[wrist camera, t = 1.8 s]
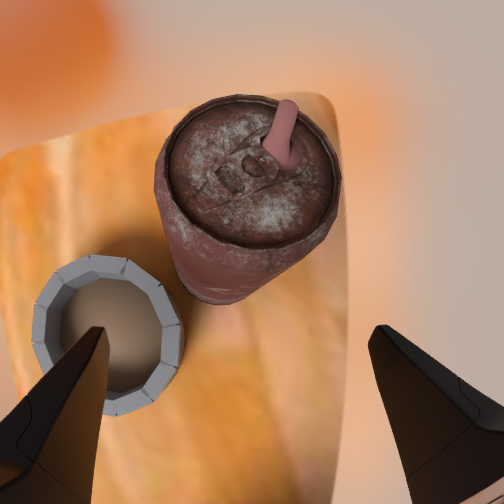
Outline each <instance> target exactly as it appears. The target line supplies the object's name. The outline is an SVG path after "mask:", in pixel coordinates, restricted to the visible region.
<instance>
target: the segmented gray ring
mask: <svg viewBox="0 0 504 504" xmlns="http://www.w3.org/2000/svg"><path fill="white" fill-rule="evenodd" d="M35 302H36V303H37V304H38V305H36V304H34V313H33V325H32V340H31V342H34V344H32V346H33V349H34V352H35V354H36V357H37V359H38V362H39V364H40V367H41V369H42V372H43V374H44V375H45V374H46V373H47V372H48V371H49V370H50V369H51V368H52V367H53V365H54V364H55V363H56V362H57V361H58V360H59V359H60V358H61V357H62V356H63V355H64V354H65V353H66V352H67V351H68V350H69V349H70V348H71V347H72V346H73V345H74V344H75V343H76V342H77V341H78V340H79V338H80V337H81V336H82V335H83V334H84V333H85V332H86V331H87V330H88V329H89V328H90V327H92V326H103V327H105V329H106V332H107V336H108V340H109V344H110V357H109V366H108V378H107V389H106V397H105V402H104V408H103V413H102V414H104V415H109V416H115V417H116V416H117V415H118V416H121V415H124V414H126V413H129V412H131V411H134V410H136V409H139V408H141V407H144V406H146V405H149V404H151V403H153V402H154V401H155V400H156V399H157V397H158V396H159V394H160V393H161V392H162V391H163V390H164V389H165V388H166V387H167V386H168V385H169V384H170V382H171V381H172V379H173V378H174V376H175V374H176V373H177V370H178V368H179V365H180V363H181V360H182V356H183V351H184V327H183V322H182V318H181V315H180V312H179V310H178V307H177V305H176V303H175V302H174V300H173V298H172V297H171V295H170V294H169V292H168V291H167V290H166V288H165V287H164V286H163V285H162V284H161V283H160V282H159V281H158V280H157V279H156V278H155V277H153V276H152V275H151V274H149V273H148V272H146V271H145V270H143V269H142V268H140V267H139V266H138V265H136V264H135V263H134V262H132V261H131V260H130V259H129V260H128V259H127V258H122V257H113V256H104V255H95V254H90V256H89V255H86V256H84V257H82V258H80V259H78V260H76V261H74V262H72V263H69V264H67V265H65V266H63V267H61V268H59V269H57V272H54V273H53V275H52V276H51V278H50V279H49V281H48V282H47V284H46V286H45V287H44V289H43V290H42V292H41V293H40V295H39V297H38V298H37V300H36V301H35Z"/></svg>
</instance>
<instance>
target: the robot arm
mask: <svg viewBox="0 0 504 504" xmlns="http://www.w3.org/2000/svg"><path fill="white" fill-rule="evenodd" d="M368 349H369V353H370V357H371V361H372V365H373V370H374V374H375V379H376V382H377V385H378V389H379V392H380V395H381V398H382V401H383V404H384V407H385V410H386V413H387V415H388V419H389V422H390V425H391V429H392V432H393V435H394V438H395V442H396V445H397V448H398V451H399V455H400V458H401V462H402V466H403V469H404V472H405V476H406V481H407V484H408V488H409V491H410V496H411V500H412V504H504V407H503V406H502V405H500V404H498V403H497V402H495V401H494V400H492V399H491V398H489V397H487V396H486V395H484V394H482V393H481V392H480V391H478V390H476V389H475V388H473V387H472V386H470V385H469V384H468V383H466V382H465V381H464V380H462V379H461V378H460V377H457V375H456V374H454V373H453V372H452V371H450V370H449V369H448V368H446V367H445V366H443V365H442V364H441V363H439V362H438V361H437V360H435V359H434V358H433V357H431V356H430V355H428V354H427V353H426V352H424V351H423V350H422V349H420V348H419V347H418V346H416V345H414V344H413V343H412V342H411V341H409V340H408V339H406V338H405V337H404V336H402V335H401V334H400V333H398V332H397V331H395V330H394V329H392V328H391V327H390V326H388V325H378V326H376V327H375V329H374V331H373V333H372V335H371V337H370V339H369V342H368ZM109 357H110V344H109V340H108V336H107V332H106V329H105V327H103V326H92V327H90V328H89V329H88V330H87V331H86V332H85V333H84V334H83V335H82V336H81V337H80V338H79V340H78V341H77V342H76V343H75V344H74V345H73V346H72V347H71V348H70V349H69V350H68V351H67V352H66V353H65V354H64V355H63V356H62V357H61V358H60V359H59V360H58V361H57V362H56V363H55V364H54V365H53V367H52V368H51V369H50V370H49V371H48V372H47V373H46V374H45V375H44V376H43V377H42V378H41V379H40V380H39V382H38V383H37V384H36V385H35V386H34V387H33V388H32V389H31V390H30V391H29V393H28V395H26V396H25V397H24V398H23V399H22V400H21V401H20V402H19V404H18V405H17V406H16V407H15V408H14V409H13V410H12V411H11V412H10V413H9V414H8V415H7V416H6V417H5V418H4V419H3V420H2V421H1V422H0V504H91V495H92V485H93V475H94V467H95V459H96V451H97V444H98V437H99V431H100V425H101V419H102V413H103V408H104V402H105V397H106V389H107V378H108V366H109Z"/></svg>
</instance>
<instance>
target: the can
mask: <svg viewBox="0 0 504 504" xmlns="http://www.w3.org/2000/svg"><path fill="white" fill-rule="evenodd" d="M341 179H342V177H341V172H340V168H339V163H338V158H337V154H336V152H335V151H334V149H333V147H332V145H331V144H330V142H329V140H328V138H327V136H326V135H325V133H324V132H323V131H322V130H321V129H320V128H319V127H318V126H317V125H316V124H315V123H314V122H313V121H312V120H311V119H310V118H309V117H308V116H307V115H305V114H303V113H302V112H300V111H299V108H298V106H297V105H296V104H295V103H294V102H293V101H290V100H281V101H278V100H274V99H271V98H268V97H265V96H259V95H241V94H236V95H231V96H225V97H221V98H216V99H212V100H210V101H208V102H206V103H204V104H202V105H200V106H198V107H196V108H195V109H193V110H191V111H190V112H189V113H188V114H187V115H186V116H185V117H184V118H183V119H182V120H181V121H180V122H179V123H178V124H177V125H176V126H175V127H174V129H173V131H172V133H171V135H170V136H169V137H168V138H167V139H166V141H165V143H164V145H163V147H162V149H161V152H160V154H159V156H158V158H157V161H156V163H155V177H154V193H155V197H156V201H157V205H158V208H159V212H160V216H161V220H162V223H163V227H164V230H165V234H166V237H167V241H168V244H169V248H170V251H171V255H172V258H173V261H174V265H175V268H176V271H177V274H178V276H179V279H180V282H181V283H182V285H183V286H184V287H185V289H186V290H187V291H188V292H189V294H191V295H192V296H194V297H195V298H197V299H198V300H200V301H201V302H205V303H209V304H212V305H230V304H232V303H235V302H237V301H240V300H243V299H244V298H246V297H247V296H249V295H250V294H252V293H253V292H255V291H256V290H257V289H259V288H260V287H262V286H263V285H265V284H266V283H268V282H269V281H271V280H272V279H274V278H275V277H277V276H278V275H280V274H281V273H282V272H284V271H285V270H287V269H288V268H290V267H291V266H293V265H294V264H295V263H297V262H298V261H300V260H301V259H303V258H304V257H305V256H306V255H307V254H309V253H310V252H311V251H312V250H313V249H314V248H315V247H316V246H318V245H319V244H320V243H321V242H322V241H323V240H324V239H325V237H326V236H327V234H328V232H329V230H330V228H331V226H332V224H333V222H334V221H335V219H336V217H337V210H338V203H339V195H340V187H341Z"/></svg>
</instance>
